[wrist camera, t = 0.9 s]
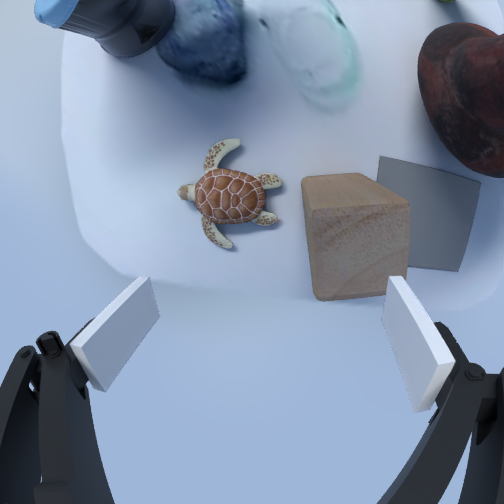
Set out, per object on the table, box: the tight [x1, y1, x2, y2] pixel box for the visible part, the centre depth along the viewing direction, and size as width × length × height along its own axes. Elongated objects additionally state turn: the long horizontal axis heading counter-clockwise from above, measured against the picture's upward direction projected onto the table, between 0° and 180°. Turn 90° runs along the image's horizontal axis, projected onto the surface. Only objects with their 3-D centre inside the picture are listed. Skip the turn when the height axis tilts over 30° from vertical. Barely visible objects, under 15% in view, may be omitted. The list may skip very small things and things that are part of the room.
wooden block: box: [301, 173, 411, 301], centre depth 33 cm, size 10×10×20 cm
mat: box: [377, 156, 481, 272], centre depth 40 cm, size 18×22×1 cm
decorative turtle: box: [177, 139, 282, 249], centre depth 42 cm, size 18×17×5 cm
